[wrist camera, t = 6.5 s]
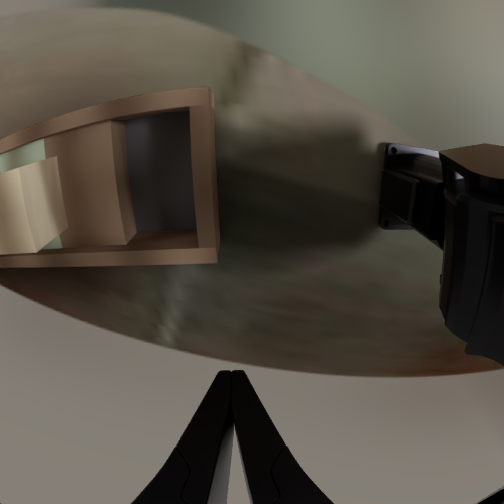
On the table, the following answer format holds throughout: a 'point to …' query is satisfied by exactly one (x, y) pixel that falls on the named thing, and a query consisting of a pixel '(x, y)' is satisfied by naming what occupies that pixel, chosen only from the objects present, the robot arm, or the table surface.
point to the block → (31, 207)
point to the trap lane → (128, 181)
